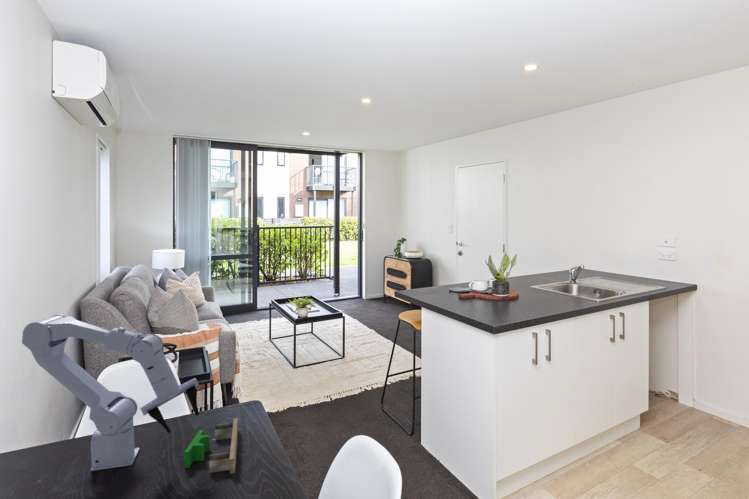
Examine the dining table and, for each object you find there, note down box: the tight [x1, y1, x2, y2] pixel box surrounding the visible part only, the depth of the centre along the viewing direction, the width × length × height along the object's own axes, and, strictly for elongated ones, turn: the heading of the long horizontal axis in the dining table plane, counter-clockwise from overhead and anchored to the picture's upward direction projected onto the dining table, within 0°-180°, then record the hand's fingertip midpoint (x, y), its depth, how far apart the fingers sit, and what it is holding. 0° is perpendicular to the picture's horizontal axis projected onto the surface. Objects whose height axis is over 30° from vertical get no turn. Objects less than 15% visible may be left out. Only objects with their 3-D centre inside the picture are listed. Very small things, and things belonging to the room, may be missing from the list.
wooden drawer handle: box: [208, 417, 239, 475], centre depth 114 cm, size 6×22×4 cm, turn 16°
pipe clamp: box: [183, 429, 211, 469], centre depth 113 cm, size 11×4×5 cm, turn 3°
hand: (183, 422), depth 111 cm, fingers open, 7 cm apart
